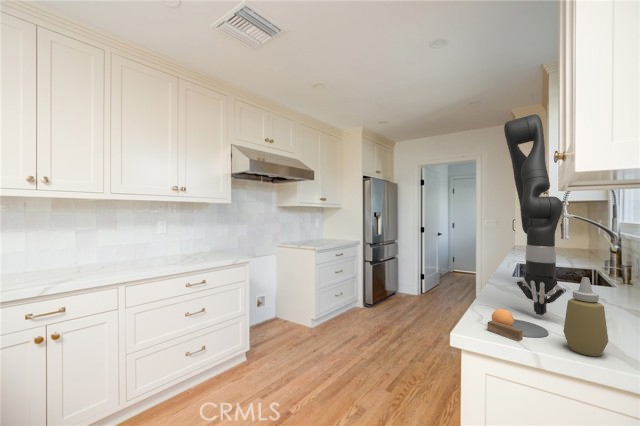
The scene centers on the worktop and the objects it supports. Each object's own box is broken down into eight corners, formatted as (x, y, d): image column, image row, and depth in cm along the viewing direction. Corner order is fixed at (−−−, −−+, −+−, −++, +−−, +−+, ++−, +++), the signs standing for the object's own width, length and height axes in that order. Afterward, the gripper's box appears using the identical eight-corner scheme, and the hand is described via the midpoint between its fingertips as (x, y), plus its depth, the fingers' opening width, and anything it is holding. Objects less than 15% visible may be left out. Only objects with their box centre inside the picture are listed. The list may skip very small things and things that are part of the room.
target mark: (507, 316, 93) (507, 315, 93) (556, 330, 82) (556, 330, 82) (485, 324, 86) (485, 324, 86) (536, 341, 75) (536, 341, 75)
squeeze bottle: (616, 362, 65) (617, 283, 65) (572, 356, 68) (573, 280, 68) (596, 346, 72) (597, 275, 72) (557, 341, 75) (558, 273, 75)
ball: (499, 310, 88) (489, 305, 86) (519, 314, 83) (508, 308, 81) (496, 328, 86) (486, 323, 84) (516, 333, 81) (505, 328, 79)
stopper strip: (491, 329, 83) (491, 320, 83) (522, 339, 76) (522, 330, 76) (487, 330, 82) (487, 321, 82) (518, 341, 75) (518, 331, 75)
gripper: (571, 261, 87) (571, 318, 87) (522, 255, 98) (522, 306, 98) (561, 264, 83) (561, 323, 83) (511, 257, 94) (511, 310, 94)
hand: (539, 314), depth 91 cm, fingers closed
